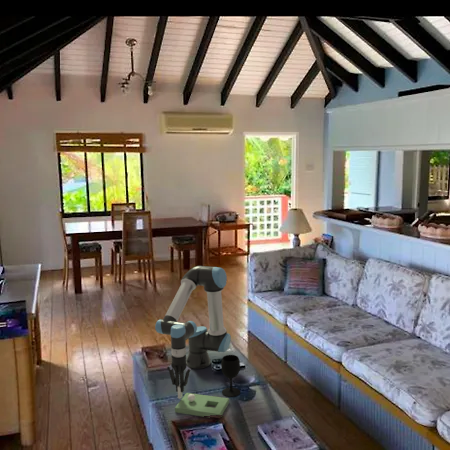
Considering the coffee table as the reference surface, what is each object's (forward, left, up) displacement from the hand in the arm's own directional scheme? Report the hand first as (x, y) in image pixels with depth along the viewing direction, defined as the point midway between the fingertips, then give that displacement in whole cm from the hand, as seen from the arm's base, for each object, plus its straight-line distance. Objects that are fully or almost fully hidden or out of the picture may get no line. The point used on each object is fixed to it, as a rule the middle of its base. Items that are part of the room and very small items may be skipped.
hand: (180, 397), depth 249 cm
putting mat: (0, +12, -4) cm, 13 cm away
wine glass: (-19, +22, -4) cm, 30 cm away
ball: (0, +6, +1) cm, 6 cm away
